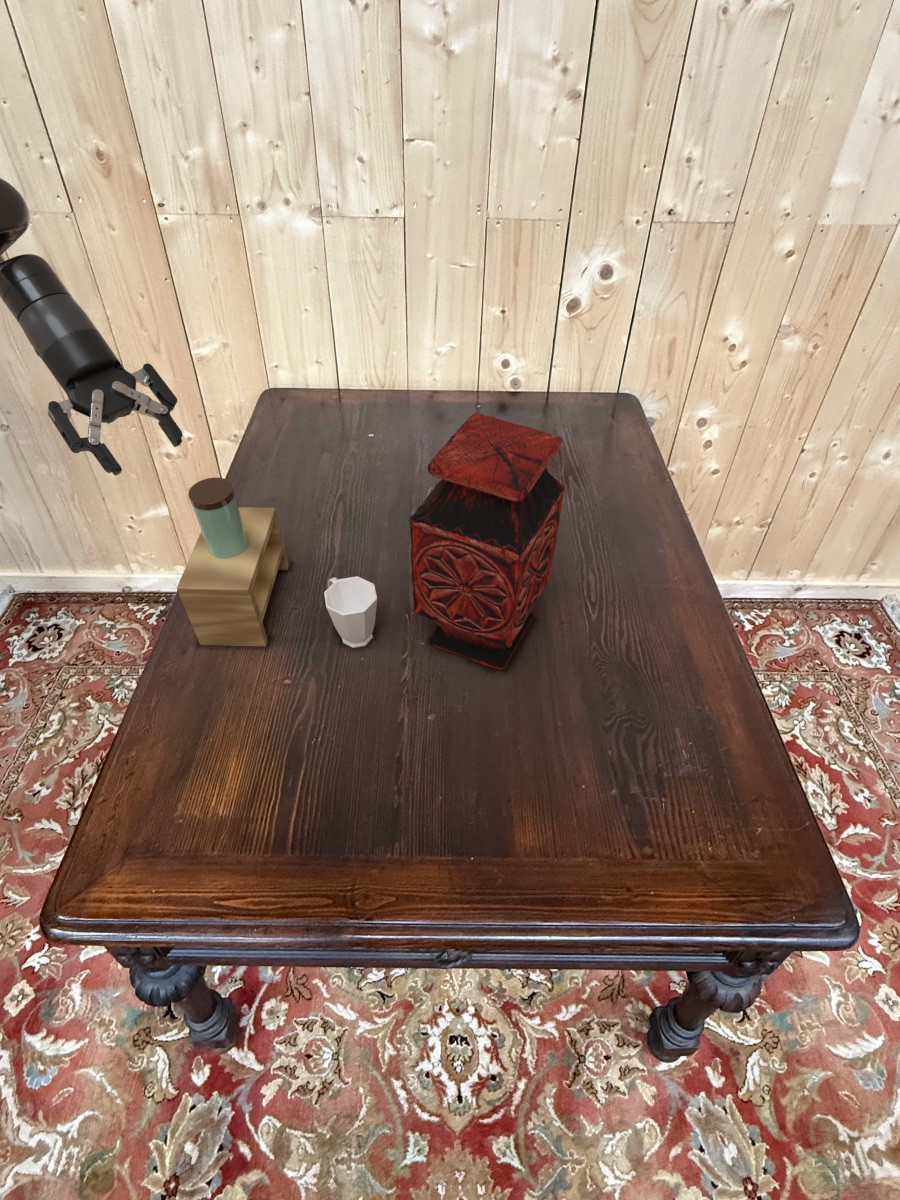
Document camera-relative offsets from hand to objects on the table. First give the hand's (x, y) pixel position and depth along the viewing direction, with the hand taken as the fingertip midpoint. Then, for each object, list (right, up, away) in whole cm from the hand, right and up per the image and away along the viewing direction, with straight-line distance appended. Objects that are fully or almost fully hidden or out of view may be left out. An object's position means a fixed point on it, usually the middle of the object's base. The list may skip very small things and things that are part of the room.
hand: (149, 458), depth 88 cm
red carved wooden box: (+43, -23, +7) cm, 49 cm away
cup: (+25, -22, +7) cm, 34 cm away
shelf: (+9, -18, +11) cm, 23 cm away
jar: (+9, -11, +3) cm, 14 cm away
